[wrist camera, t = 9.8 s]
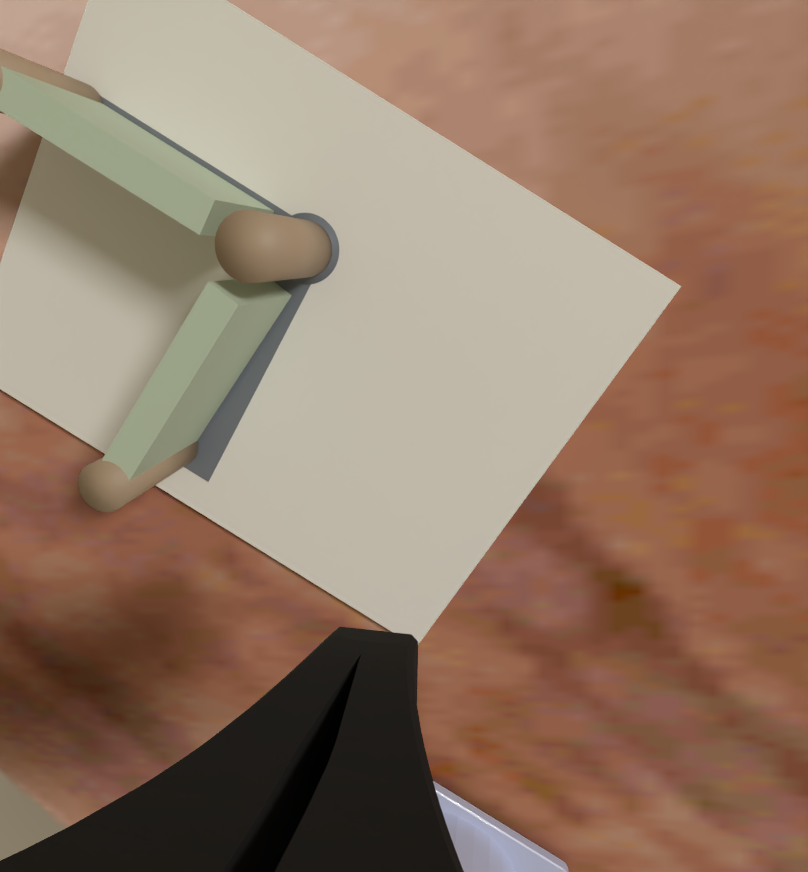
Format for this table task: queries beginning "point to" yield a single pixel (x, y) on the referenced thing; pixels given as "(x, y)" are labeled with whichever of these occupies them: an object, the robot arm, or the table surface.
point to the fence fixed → (162, 175)
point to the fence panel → (184, 391)
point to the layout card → (320, 309)
